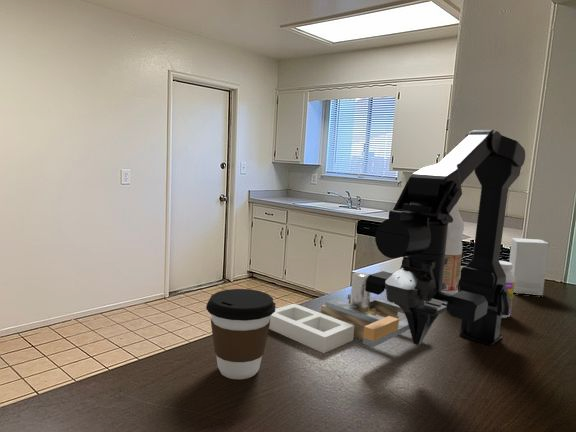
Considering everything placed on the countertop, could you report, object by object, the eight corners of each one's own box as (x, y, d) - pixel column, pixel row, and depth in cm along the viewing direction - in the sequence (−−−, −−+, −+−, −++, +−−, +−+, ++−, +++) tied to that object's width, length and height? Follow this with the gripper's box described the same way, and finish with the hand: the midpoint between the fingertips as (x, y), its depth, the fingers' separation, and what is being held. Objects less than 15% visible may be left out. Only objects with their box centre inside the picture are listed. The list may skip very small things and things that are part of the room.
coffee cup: (244, 396, 61) (248, 315, 59) (189, 372, 66) (191, 299, 65) (285, 367, 70) (289, 297, 69) (233, 349, 76) (236, 283, 74)
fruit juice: (432, 300, 111) (443, 193, 107) (414, 289, 120) (424, 190, 116) (464, 299, 113) (476, 194, 109) (444, 289, 122) (454, 192, 118)
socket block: (397, 326, 91) (399, 309, 90) (366, 341, 82) (367, 322, 82) (351, 311, 99) (352, 295, 98) (318, 323, 90) (319, 305, 90)
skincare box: (535, 291, 125) (542, 239, 123) (543, 298, 118) (551, 243, 116) (504, 288, 127) (511, 236, 125) (511, 294, 120) (517, 240, 118)
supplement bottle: (497, 320, 98) (503, 266, 97) (474, 310, 104) (479, 259, 102) (516, 317, 101) (523, 264, 99) (493, 308, 107) (499, 258, 105)
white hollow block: (353, 340, 82) (354, 325, 82) (323, 353, 76) (324, 337, 76) (293, 316, 93) (294, 303, 93) (263, 326, 87) (264, 312, 87)
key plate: (429, 319, 85) (430, 305, 85) (373, 347, 70) (374, 330, 70) (355, 296, 97) (356, 283, 97) (294, 316, 83) (295, 301, 82)
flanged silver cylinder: (381, 326, 91) (385, 276, 89) (362, 334, 86) (366, 281, 84) (354, 316, 95) (358, 269, 94) (335, 323, 90) (338, 273, 89)
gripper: (348, 246, 68) (342, 338, 70) (464, 270, 56) (452, 382, 57) (385, 239, 76) (378, 322, 78) (494, 260, 64) (482, 358, 65)
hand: (417, 344), depth 70 cm, fingers closed
